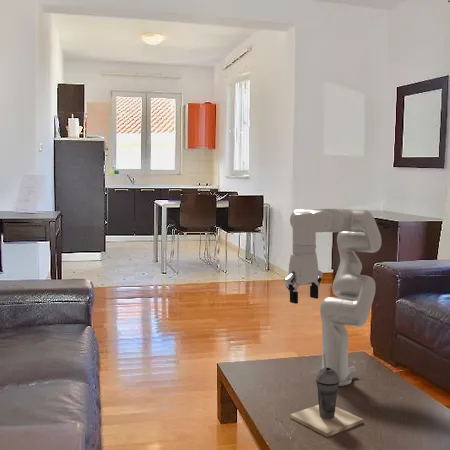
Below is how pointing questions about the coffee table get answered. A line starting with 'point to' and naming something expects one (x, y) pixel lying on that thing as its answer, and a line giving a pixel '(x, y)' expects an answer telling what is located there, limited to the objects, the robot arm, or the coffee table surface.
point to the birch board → (326, 420)
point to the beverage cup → (327, 391)
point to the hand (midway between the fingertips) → (304, 300)
